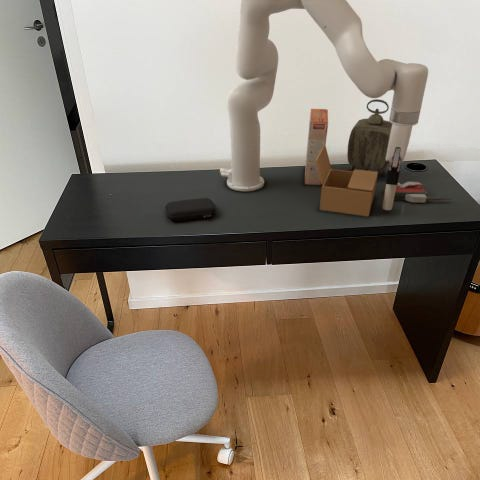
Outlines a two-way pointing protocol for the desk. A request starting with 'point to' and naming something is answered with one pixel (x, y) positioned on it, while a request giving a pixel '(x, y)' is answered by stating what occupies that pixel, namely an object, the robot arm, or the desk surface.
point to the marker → (389, 195)
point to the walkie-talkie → (414, 193)
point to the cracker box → (315, 144)
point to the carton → (348, 191)
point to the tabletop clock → (370, 142)
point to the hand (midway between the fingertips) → (392, 181)
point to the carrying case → (190, 209)
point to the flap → (323, 164)
